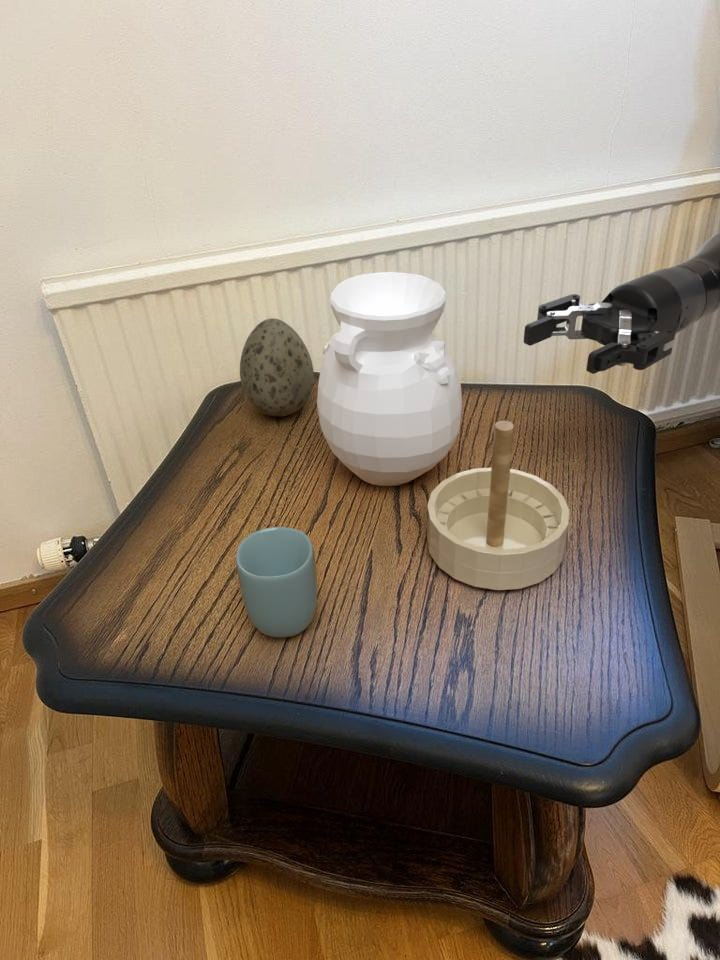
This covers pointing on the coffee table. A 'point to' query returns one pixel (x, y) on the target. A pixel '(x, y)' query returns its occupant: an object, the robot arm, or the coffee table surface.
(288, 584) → the cup
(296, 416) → the coffee table surface
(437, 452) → the white vase
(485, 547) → the bowl
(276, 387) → the decorative egg
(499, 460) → the stick
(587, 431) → the coffee table surface
